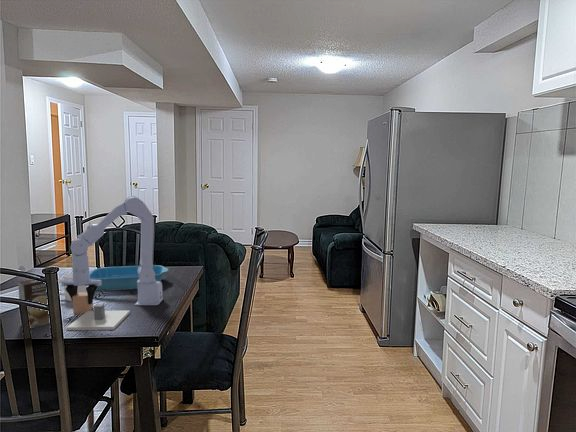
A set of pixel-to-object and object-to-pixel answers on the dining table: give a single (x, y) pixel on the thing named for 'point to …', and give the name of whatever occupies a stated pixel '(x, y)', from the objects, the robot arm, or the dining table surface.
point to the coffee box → (36, 294)
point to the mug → (67, 296)
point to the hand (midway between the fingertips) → (83, 303)
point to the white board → (99, 319)
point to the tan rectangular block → (81, 303)
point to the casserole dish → (122, 277)
